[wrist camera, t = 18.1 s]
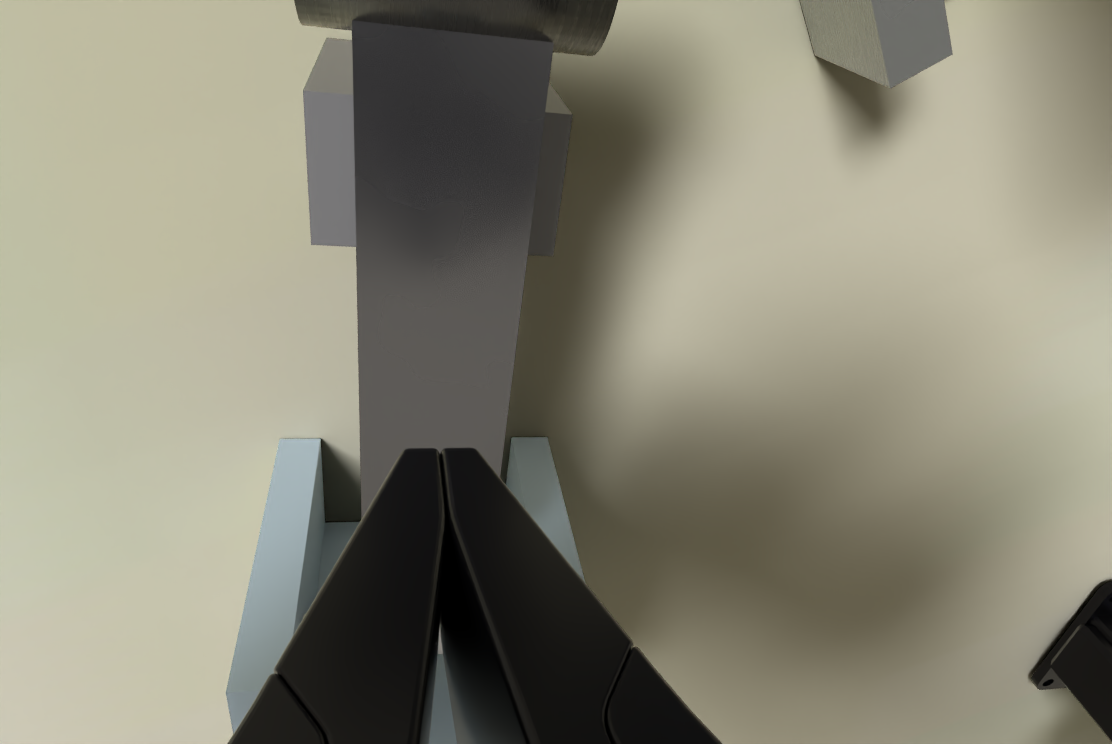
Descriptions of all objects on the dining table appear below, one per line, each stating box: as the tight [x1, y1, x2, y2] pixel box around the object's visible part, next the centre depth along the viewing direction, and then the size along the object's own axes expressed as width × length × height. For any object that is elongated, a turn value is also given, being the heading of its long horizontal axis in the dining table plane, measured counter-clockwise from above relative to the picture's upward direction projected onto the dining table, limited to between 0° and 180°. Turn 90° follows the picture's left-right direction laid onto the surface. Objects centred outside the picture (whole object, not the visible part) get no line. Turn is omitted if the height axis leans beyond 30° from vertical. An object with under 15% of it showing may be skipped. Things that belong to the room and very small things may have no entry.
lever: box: [295, 0, 618, 518], centre depth 12 cm, size 4×14×2 cm, turn 173°
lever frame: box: [226, 38, 585, 744], centre depth 16 cm, size 7×17×7 cm, turn 173°
